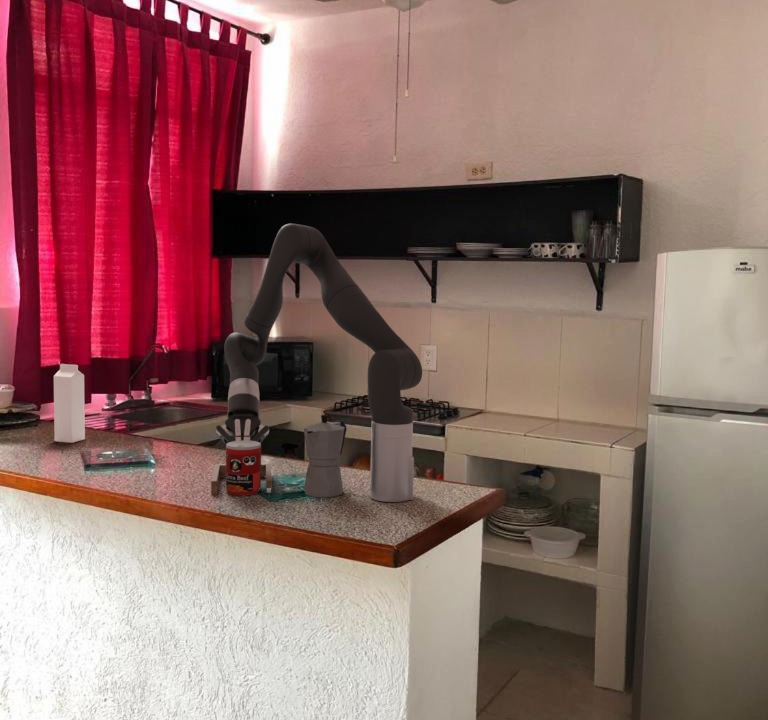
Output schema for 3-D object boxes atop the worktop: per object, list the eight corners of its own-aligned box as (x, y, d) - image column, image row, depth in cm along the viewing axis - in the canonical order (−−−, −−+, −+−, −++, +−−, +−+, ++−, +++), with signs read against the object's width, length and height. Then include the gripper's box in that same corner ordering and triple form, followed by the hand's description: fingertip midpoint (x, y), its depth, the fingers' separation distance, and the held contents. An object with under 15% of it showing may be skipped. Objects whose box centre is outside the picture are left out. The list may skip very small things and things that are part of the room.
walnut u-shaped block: (270, 475, 212) (270, 463, 212) (271, 493, 195) (271, 480, 195) (214, 476, 210) (214, 464, 210) (211, 494, 193) (211, 481, 193)
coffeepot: (324, 502, 189) (325, 420, 187) (289, 495, 194) (290, 416, 192) (361, 487, 202) (362, 411, 201) (327, 482, 207) (328, 407, 205)
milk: (67, 437, 254) (66, 362, 252) (85, 439, 252) (84, 363, 250) (54, 441, 248) (53, 364, 246) (72, 443, 246) (71, 365, 244)
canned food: (219, 493, 194) (219, 445, 193) (236, 485, 201) (237, 439, 200) (250, 497, 191) (250, 448, 190) (266, 489, 199) (267, 441, 198)
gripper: (215, 391, 207) (211, 453, 196) (271, 392, 209) (270, 453, 198) (216, 410, 213) (213, 470, 202) (270, 410, 215) (270, 470, 204)
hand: (241, 461), depth 200 cm, fingers closed
